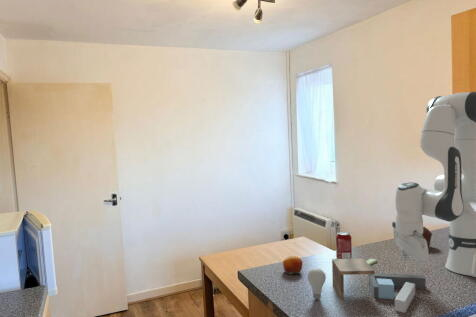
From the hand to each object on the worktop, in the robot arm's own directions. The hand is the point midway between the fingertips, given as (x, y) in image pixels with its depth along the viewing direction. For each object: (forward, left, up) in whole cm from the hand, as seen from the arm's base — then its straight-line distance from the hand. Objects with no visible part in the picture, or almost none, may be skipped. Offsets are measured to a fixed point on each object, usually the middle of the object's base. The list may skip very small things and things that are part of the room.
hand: (411, 264), depth 132 cm
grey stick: (+8, +12, -9) cm, 17 cm away
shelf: (+23, +4, -8) cm, 25 cm away
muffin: (-25, -46, -8) cm, 52 cm away
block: (+12, +7, -8) cm, 16 cm away
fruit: (+41, -16, -8) cm, 45 cm away
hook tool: (+6, +4, -8) cm, 11 cm away
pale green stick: (+9, -22, -9) cm, 25 cm away
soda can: (+16, -31, -8) cm, 36 cm away
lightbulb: (+36, +9, -8) cm, 39 cm away
